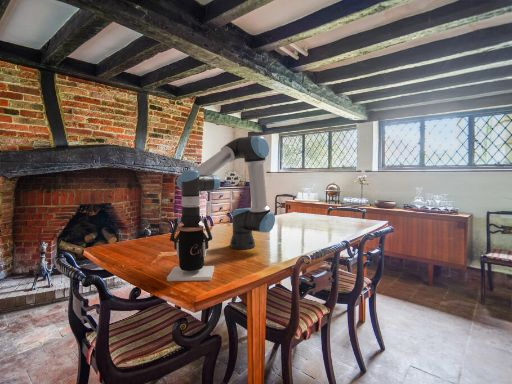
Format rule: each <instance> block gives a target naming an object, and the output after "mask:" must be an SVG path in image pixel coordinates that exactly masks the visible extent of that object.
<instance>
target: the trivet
mask: <svg viewBox="0 0 512 384" xmlns="http://www.w3.org/2000/svg"><path fill="white" fill-rule="evenodd" d="M214 271H215V265H204V266H203V268H202V269H200V270H196V271H183V270H181V268H180V267H179V266H174V267H173V268H172V269H171V271H170V272H169V273H168V275H167V277H166V282H185V281H186V282H187V281H188V282H189V281H190V282H191V281H198V282H199V281H212V277H213V276H214V275H213V274H214Z"/></svg>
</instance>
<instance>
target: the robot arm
mask: <svg viewBox="0 0 512 384" xmlns="http://www.w3.org/2000/svg"><path fill="white" fill-rule="evenodd" d="M269 153H270V145H269V143H268V141H267V140H266V138H265V137H263V136H261V135H252V136H244V137H237V138H235V139H233V140H231V141H229V142H228V143H226V144H225V145H223V146H222V147H221V148H220V150H219V151H218V152H216V153H215V154H214V155H212V156H211V157H210V158H208V159H206V160H205V161H204V162H202V163H201V164H199V165H198V166H197V167H195V168H194V169H192V170H191V169H189V170H188V169H187V170H186V169H185V170H182V171H181V175H179V176H178V177H177V179H176V185H177V187H178V189H180V190H181V205H182V207H181V218H178V217H176V218H174V221H173V222H174V225H173V228H172V231H171V234H170V236H169V241H170V242H173V243H174V244H173V247H174V250H176V258H177V259H179V232H178V233H177V231H178V228H179V224H180V223H182V224H183V225H182V226H183V227H182V228H185V227H196V228H198V227H200V222H201V223H202V224H203V227H204V229H205V231H206V233H205V232H204V231H203V232H204V233H203V232H202V233H203V239H204V242H203V256H204V258H206V257H207V250H208V248H209V242H210V241H212V240H213V235H212V233H211V229H210V226H209V224H208V223H209V222H208V217H201V210H200V209H201V207H200V205H201V204H200V201H201V200H200V199H201V198H200V197H201V196H200V192H213V191H217V190H218V189H219V188H220V187H221V178H220V177H219V176H218V175H217V174H215V173H216V172H217V171H218V170H220V169H222V168H223V167H224V166H225V165H227V164H228V163H232V162H234V161H235V160H238V159H244V163H245V164H246V165H247V171H248V182H249V190H250V191H249V192H250V200H251V207H245V208H243V207H242V208H237V209H233V211H232V216H231V217H232V235H231V238H230V243H229V247H230V248H231V249H233V250H234V249H235V250H250V249H254V248H255V247H256V242H255V239H254V236H253V232H258V233H265V234H266V233H270V232H271V231H272V230H273V228H274V226H275V222H276V216H275V214H274V213H273V212H272V211H271V207H270V206H269V205H268V202H267V191H266V180H265V178H266V177H265V169H264V163H265V162H266V158H267V157H268V155H269ZM176 233H177V235H176Z"/></svg>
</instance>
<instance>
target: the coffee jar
mask: <svg viewBox="0 0 512 384" xmlns="http://www.w3.org/2000/svg"><path fill="white" fill-rule="evenodd" d="M199 225H200V224H199ZM182 227H183V225H179V226H178V230H179V232H178V233H179V239H178V241H179V258H178V267H180V268H181V270H183V271H196V270H200V269H202V268H203V266H205V257H204V256H203V242H204V241H205V240H204V239H203V233H205V232H204V229H205V226H204V225H200V227H198V228H196V227H185V228H182ZM202 232H203V233H202Z"/></svg>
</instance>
